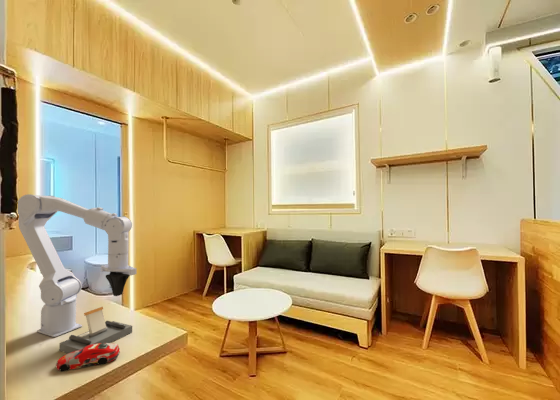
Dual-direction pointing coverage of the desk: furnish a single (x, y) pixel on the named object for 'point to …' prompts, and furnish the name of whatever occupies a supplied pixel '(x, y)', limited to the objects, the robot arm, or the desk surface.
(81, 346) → the strip
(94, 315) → the lever
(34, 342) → the desk surface
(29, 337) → the desk surface
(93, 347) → the race car
